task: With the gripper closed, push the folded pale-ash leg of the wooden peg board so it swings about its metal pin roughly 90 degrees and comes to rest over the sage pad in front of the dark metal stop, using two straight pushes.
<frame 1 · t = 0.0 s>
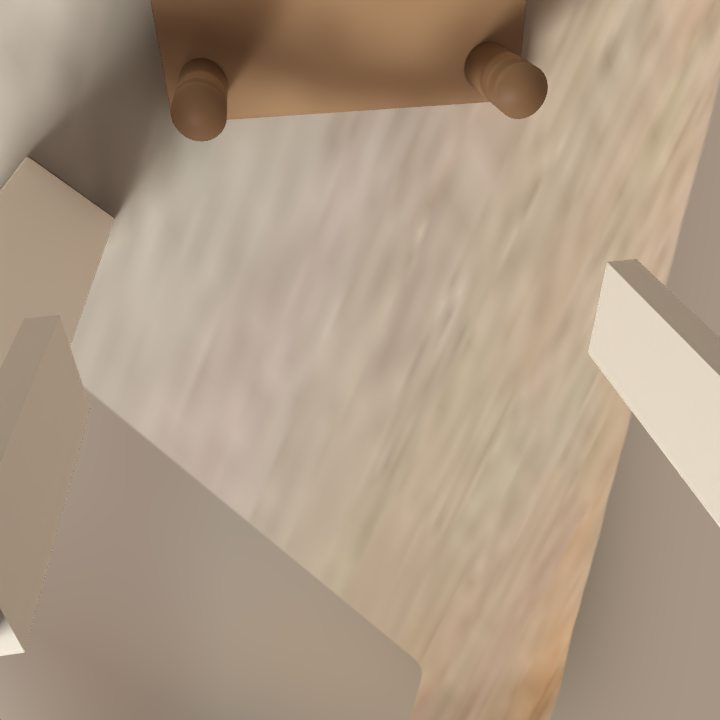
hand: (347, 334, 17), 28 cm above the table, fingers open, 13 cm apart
milk: (46, 220, 42), on the table
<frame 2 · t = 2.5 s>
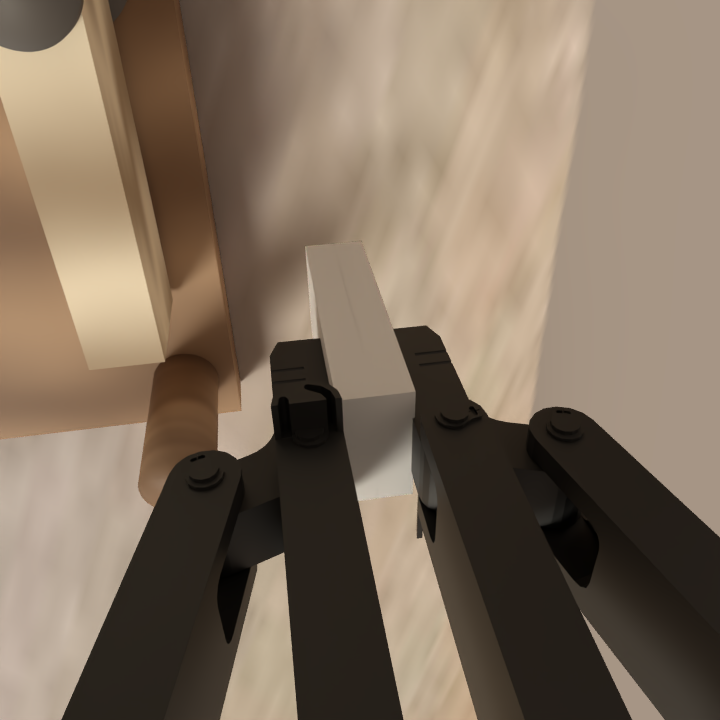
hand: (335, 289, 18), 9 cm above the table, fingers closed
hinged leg: (86, 160, 20), point 5 cm above the table, hinge at 0.0°
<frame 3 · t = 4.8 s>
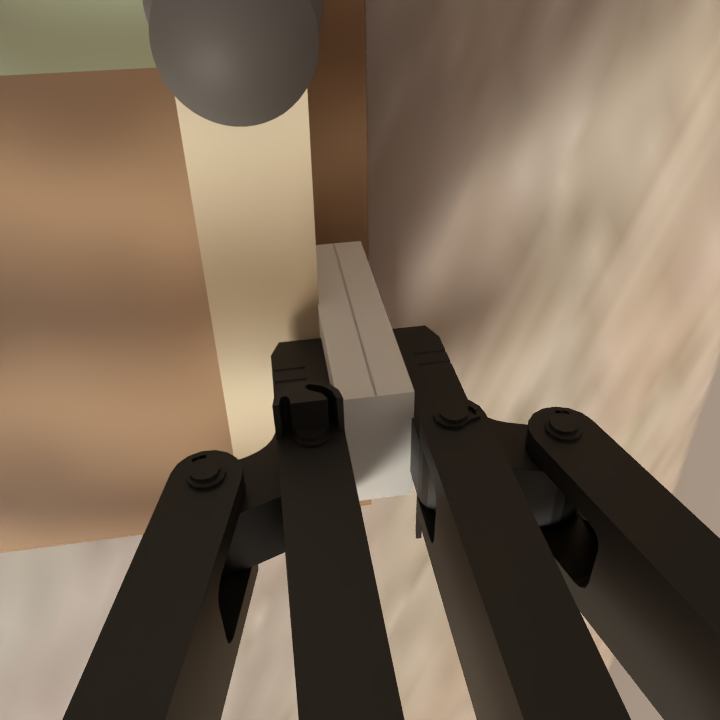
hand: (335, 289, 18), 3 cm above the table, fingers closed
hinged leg: (259, 244, 16), point 5 cm above the table, hinge at 0.4°, touching gripper
wooden peg board: (26, 265, 20), on the table
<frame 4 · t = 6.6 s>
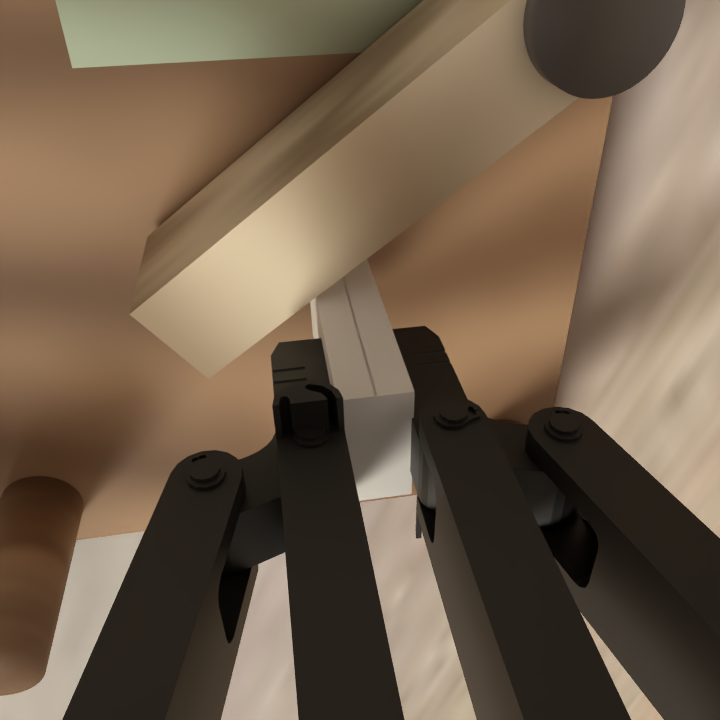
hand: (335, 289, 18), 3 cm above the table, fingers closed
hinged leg: (375, 148, 15), point 5 cm above the table, hinge at 54.2°, touching gripper
wooden peg board: (251, 243, 21), on the table
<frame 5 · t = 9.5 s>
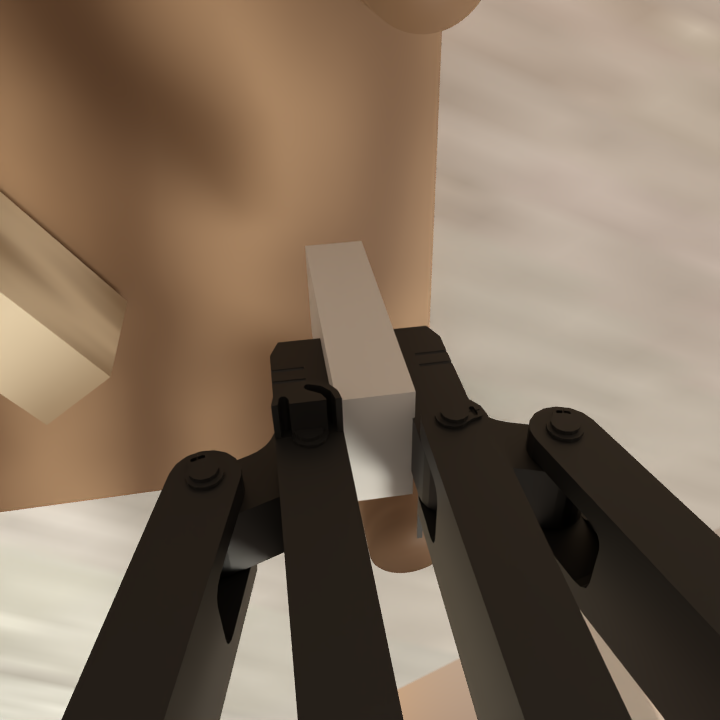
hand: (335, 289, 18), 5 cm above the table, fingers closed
milk: (520, 536, 35), on the table
wooden peg board: (120, 228, 22), on the table
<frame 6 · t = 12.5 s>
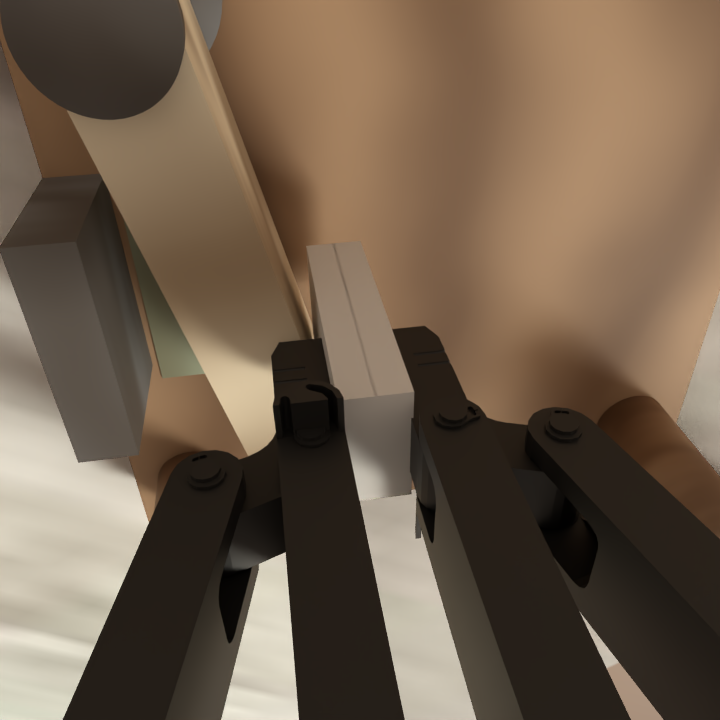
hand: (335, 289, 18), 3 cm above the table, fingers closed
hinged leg: (212, 231, 16), point 5 cm above the table, hinge at 76.3°, touching gripper
wooden peg board: (413, 221, 21), on the table
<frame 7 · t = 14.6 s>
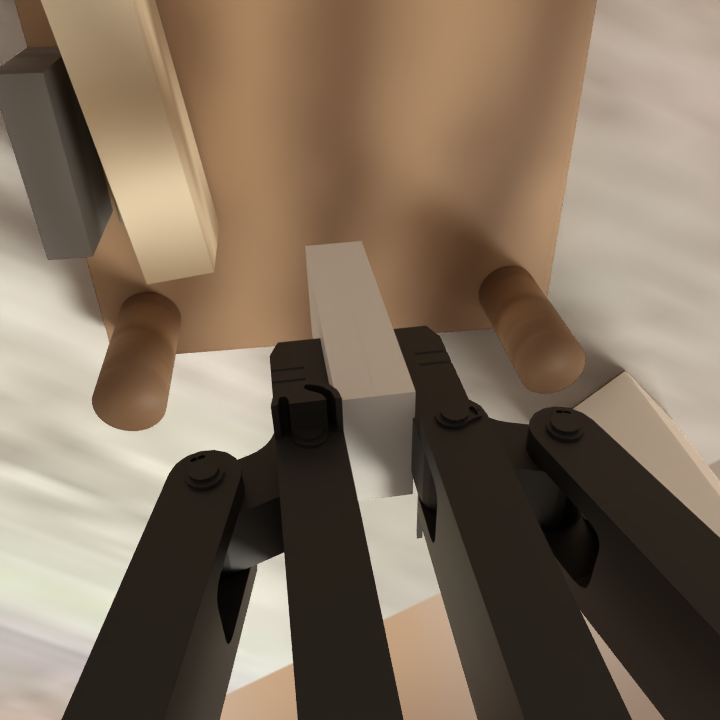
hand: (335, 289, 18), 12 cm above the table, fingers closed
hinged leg: (128, 84, 22), point 5 cm above the table, hinge at 82.9°
milk: (606, 424, 40), on the table
wooden peg board: (320, 107, 27), on the table
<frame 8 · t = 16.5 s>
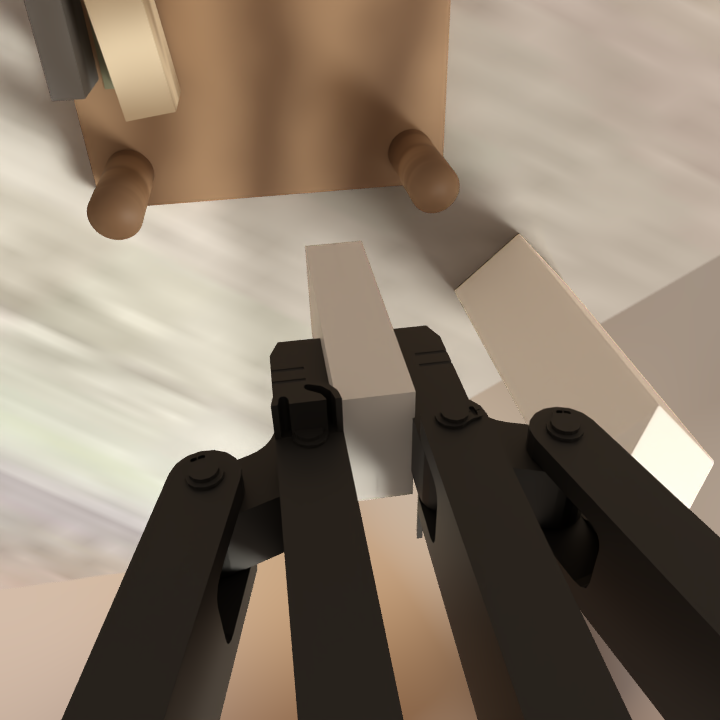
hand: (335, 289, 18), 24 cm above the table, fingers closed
milk: (509, 285, 49), on the table
wooden peg board: (256, 0, 36), on the table
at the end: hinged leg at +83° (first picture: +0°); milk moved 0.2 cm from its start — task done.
